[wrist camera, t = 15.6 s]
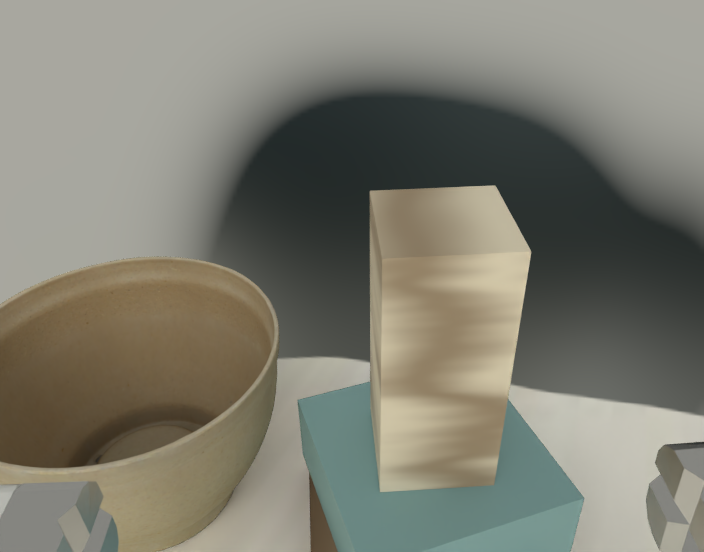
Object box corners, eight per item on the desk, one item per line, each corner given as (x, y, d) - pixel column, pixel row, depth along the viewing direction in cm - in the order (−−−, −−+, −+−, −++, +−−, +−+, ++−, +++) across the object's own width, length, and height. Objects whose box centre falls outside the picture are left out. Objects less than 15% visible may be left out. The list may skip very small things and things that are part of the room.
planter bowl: (-28, 655, 30) (-129, 503, 24) (39, 412, 44) (-16, 275, 38) (314, 584, 33) (298, 431, 27) (279, 374, 46) (263, 240, 40)
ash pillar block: (470, 403, 33) (495, 185, 26) (494, 485, 29) (531, 251, 22) (370, 408, 33) (369, 190, 26) (380, 492, 28) (382, 258, 22)
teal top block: (469, 408, 38) (474, 355, 36) (569, 554, 30) (584, 498, 28) (302, 454, 36) (297, 399, 33) (364, 627, 28) (362, 570, 25)
